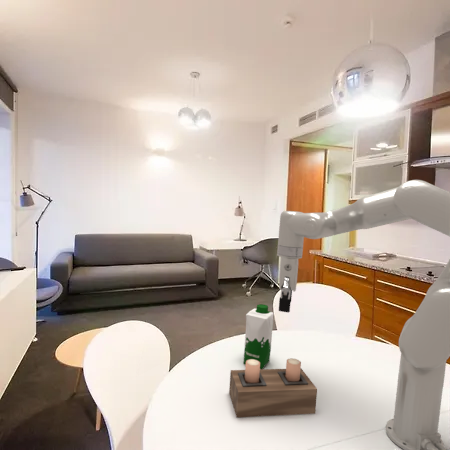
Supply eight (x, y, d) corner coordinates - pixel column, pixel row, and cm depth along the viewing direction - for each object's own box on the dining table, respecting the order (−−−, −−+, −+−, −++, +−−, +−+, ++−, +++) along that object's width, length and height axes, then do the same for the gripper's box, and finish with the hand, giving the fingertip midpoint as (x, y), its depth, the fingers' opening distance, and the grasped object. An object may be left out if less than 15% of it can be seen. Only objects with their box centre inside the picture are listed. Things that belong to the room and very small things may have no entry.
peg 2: (301, 389, 93) (303, 364, 93) (287, 389, 92) (289, 365, 92) (295, 381, 97) (297, 357, 96) (282, 381, 96) (284, 358, 96)
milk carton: (272, 361, 119) (276, 306, 117) (263, 371, 111) (267, 313, 109) (250, 354, 123) (253, 301, 122) (239, 364, 115) (243, 308, 114)
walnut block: (315, 413, 91) (317, 387, 90) (236, 417, 87) (238, 390, 86) (299, 390, 101) (301, 367, 101) (229, 392, 98) (230, 368, 97)
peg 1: (260, 390, 91) (261, 365, 90) (245, 391, 90) (247, 366, 90) (256, 382, 95) (258, 358, 94) (242, 383, 94) (244, 358, 94)
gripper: (302, 257, 91) (296, 317, 93) (302, 249, 108) (298, 300, 109) (274, 254, 93) (269, 313, 94) (279, 246, 110) (275, 297, 111)
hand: (285, 306), depth 102 cm, fingers open, 9 cm apart
